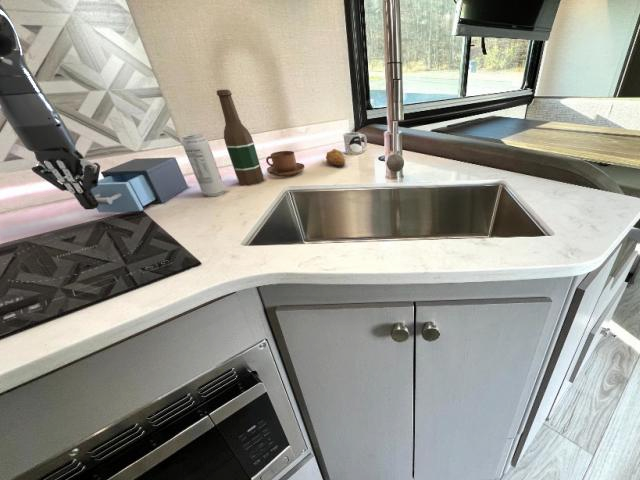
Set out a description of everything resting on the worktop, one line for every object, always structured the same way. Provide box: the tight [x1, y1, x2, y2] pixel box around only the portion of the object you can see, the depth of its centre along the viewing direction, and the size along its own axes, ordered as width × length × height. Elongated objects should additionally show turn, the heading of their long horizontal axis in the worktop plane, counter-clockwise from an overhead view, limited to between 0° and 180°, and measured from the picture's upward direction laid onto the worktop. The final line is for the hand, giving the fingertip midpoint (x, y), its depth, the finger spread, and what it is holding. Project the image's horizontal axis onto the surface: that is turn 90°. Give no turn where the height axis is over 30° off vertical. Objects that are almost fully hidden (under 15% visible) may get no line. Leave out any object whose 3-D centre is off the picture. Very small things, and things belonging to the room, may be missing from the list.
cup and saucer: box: [265, 150, 305, 177], centre depth 103 cm, size 12×12×6 cm
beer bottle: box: [216, 89, 265, 186], centre depth 91 cm, size 8×8×24 cm
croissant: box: [325, 148, 346, 168], centre depth 111 cm, size 14×7×5 cm, turn 29°
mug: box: [342, 131, 368, 155], centre depth 125 cm, size 10×7×7 cm
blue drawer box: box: [100, 156, 189, 205], centre depth 88 cm, size 14×12×9 cm
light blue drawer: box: [91, 174, 157, 214], centre depth 79 cm, size 17×10×7 cm, turn 1°
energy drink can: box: [181, 133, 226, 197], centre depth 86 cm, size 6×6×15 cm
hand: (92, 208), depth 71 cm, fingers closed
